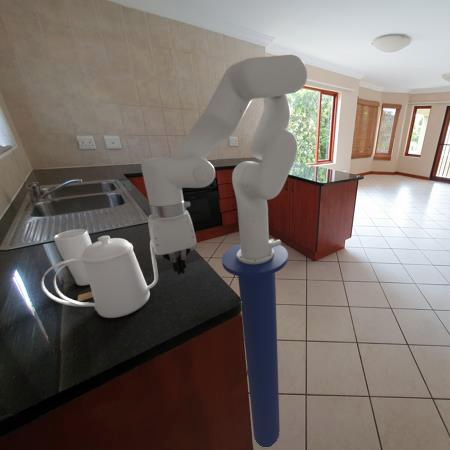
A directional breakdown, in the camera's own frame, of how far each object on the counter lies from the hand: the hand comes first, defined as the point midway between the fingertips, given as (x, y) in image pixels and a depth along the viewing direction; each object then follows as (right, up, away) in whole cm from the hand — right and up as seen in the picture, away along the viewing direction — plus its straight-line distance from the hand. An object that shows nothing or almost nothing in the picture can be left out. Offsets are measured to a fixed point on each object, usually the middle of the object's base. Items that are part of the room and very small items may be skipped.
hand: (180, 271), depth 66 cm
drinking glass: (-28, -3, +3) cm, 28 cm away
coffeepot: (-10, -7, -6) cm, 14 cm away
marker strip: (-21, -5, -3) cm, 22 cm away
